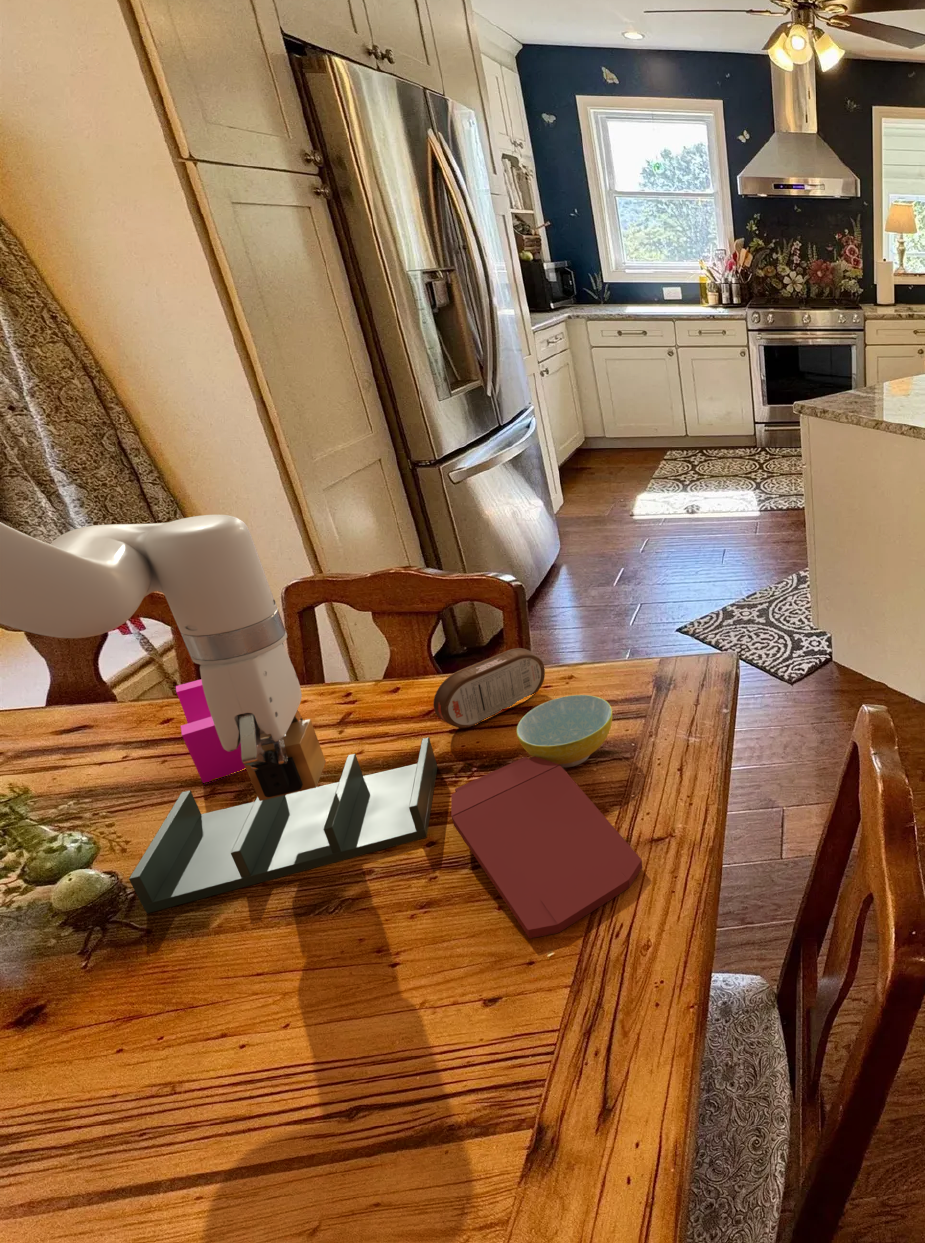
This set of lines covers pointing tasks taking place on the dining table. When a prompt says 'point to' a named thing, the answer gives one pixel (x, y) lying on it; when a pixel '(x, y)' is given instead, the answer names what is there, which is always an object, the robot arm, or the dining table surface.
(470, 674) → the tin
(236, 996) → the dining table surface
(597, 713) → the bowl
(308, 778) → the package
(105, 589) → the robot arm
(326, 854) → the rack
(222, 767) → the toy block
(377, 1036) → the dining table surface
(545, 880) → the carton
